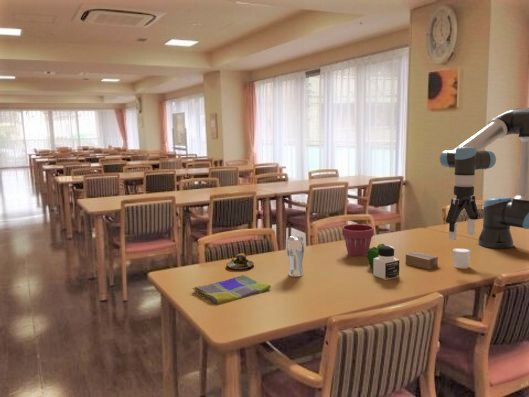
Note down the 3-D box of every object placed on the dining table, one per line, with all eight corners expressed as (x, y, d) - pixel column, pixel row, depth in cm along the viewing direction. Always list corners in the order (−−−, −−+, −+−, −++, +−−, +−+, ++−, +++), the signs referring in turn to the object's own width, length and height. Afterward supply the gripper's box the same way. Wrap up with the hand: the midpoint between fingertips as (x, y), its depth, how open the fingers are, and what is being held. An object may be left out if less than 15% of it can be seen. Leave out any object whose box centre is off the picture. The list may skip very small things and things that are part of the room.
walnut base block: (414, 260, 198) (415, 251, 197) (437, 266, 189) (437, 256, 188) (405, 263, 194) (405, 254, 193) (428, 269, 185) (428, 259, 184)
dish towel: (272, 291, 166) (272, 284, 165) (213, 307, 153) (212, 299, 152) (247, 279, 180) (247, 272, 180) (191, 292, 167) (190, 285, 167)
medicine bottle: (385, 280, 173) (385, 249, 171) (372, 275, 179) (373, 245, 178) (399, 277, 176) (400, 247, 175) (386, 272, 183) (387, 243, 181)
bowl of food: (220, 268, 196) (220, 251, 195) (240, 262, 204) (239, 245, 203) (240, 273, 188) (239, 256, 186) (259, 266, 196) (259, 250, 195)
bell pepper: (366, 269, 188) (366, 245, 186) (368, 263, 195) (368, 241, 194) (387, 270, 185) (387, 246, 183) (388, 265, 192) (389, 242, 191)
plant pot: (368, 259, 201) (368, 231, 199) (337, 256, 208) (337, 229, 206) (377, 252, 213) (377, 225, 211) (348, 249, 220) (348, 223, 218)
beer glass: (306, 272, 185) (305, 236, 183) (302, 277, 179) (301, 240, 177) (290, 271, 188) (289, 235, 185) (285, 276, 181) (284, 239, 179)
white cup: (472, 269, 184) (472, 252, 183) (454, 268, 185) (454, 251, 184) (468, 264, 190) (468, 248, 189) (450, 263, 192) (451, 247, 191)
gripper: (471, 182, 193) (469, 231, 196) (437, 187, 178) (435, 240, 181) (489, 183, 187) (486, 234, 190) (455, 188, 172) (453, 243, 175)
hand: (461, 237), depth 186 cm, fingers open, 13 cm apart
